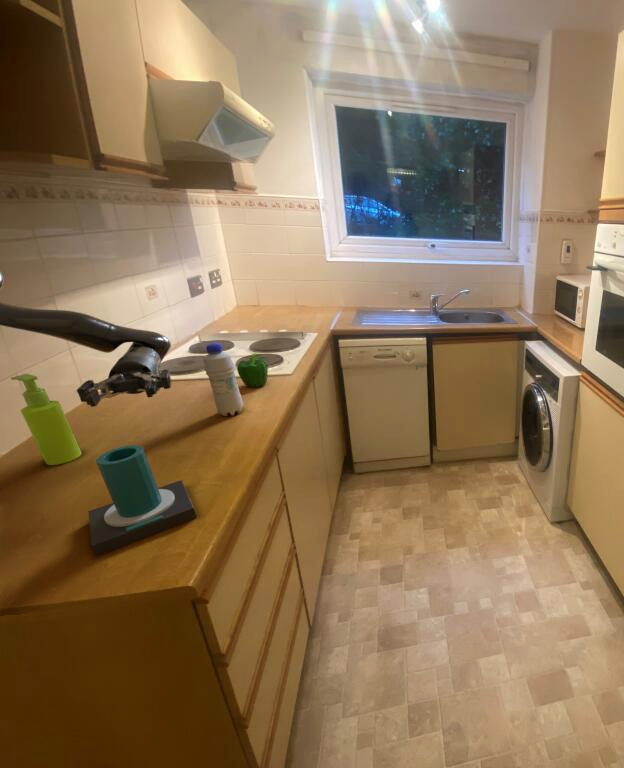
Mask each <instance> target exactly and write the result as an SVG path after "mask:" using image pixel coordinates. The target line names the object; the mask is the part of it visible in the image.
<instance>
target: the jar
mask: <svg viewBox="0 0 624 768" xmlns="http://www.w3.org/2000/svg"><path fill="white" fill-rule="evenodd" d="M96 465H97V467H98V470H99V472H100V475H101V477H102V479H103V482H104V484H105V486H106V488H107V491H108V493H109V495H110V496H109V497H110V498H111V500H112V503H114V505H115V507H116V510H117V512H118V514H119V515H120V516H121V517H126V518H129V517H136V516H139V515H143V514H145V513H148V512H150V511H152V510H153V509H155V508H156V507H158V506H159V505H160V503H161V502H162V498H161V495H160V492H159V490H158V488H159V487H158V484H157V482H156V479H155V477H154V474H153V471H152V469H151V465H150V463H149V460H148V457H147V455H146V452H145V450H144V447H143V446H141V445H138V444H137V445H133V444H132V445H124V446H120V447H116V448H113V449H110V450H108V451H106V452H104V453H102V454H100V455H99V456H98V457H97V458H96Z"/></svg>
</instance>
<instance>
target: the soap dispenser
mask: <svg viewBox="0 0 624 768" xmlns="http://www.w3.org/2000/svg"><path fill="white" fill-rule="evenodd" d="M10 379H11V381H20V382H22V383H23V385H24V387H25V391H24V392H22V397H23V399H24V401H25V403H26V406H24V407H23V408H21V409H20V412H21V414H22V416H23V419H24V421H25V422H26V425H27V427H28V429H29V432H30V434H31V436H32V437H33V440H34V442H35V444H36V445H37V448H38V450H39V452H40V454H41V456H42V458H43V460H44V462H45V465H47V466H58V465H62V464H65V463H66V464H67V463H69V462H72V461H74V460H77V459H78V458H80V457H81V456H82V450H81V449H80V446H79V444H78V441H77V439H76V437H75V435H74V432H73V430H72V428H71V426H70V423H69V421H68V418H67V417H66V415H65V412H64V410H63V407H62V405H61V403H60V401H59V400H50V398H49V395H48V392H47V391H46V389H45V388H44V387H43V388H42V387H38V384H37V382H36V380H39V377H38V376H36V375H33V374H28V373H24V374H19V375H16V376H12V377H10Z"/></svg>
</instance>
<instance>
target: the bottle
mask: <svg viewBox="0 0 624 768" xmlns="http://www.w3.org/2000/svg"><path fill="white" fill-rule="evenodd" d="M206 352H207V354H206V355H204V356H203V369H204V371H205V375H206V376H207V377H208V380H209V383H210V387H211V390H212V394H213V399H214V404H215V407H216V410H217V412H218V414H219V415H222V416H224V417H228V415H230V416H235V413H237V414H240V413H241V412H242V411H243V409H244V401H243V398H242V395H241V392H240V389H239V384H238V381H237V378H236V373H235V371H236V368H235V363H234V362H233V359H232V356H231V354H230V353H229V352H226V351H224V350H223V346H222V345H221V343H218V342H215V343H209V344H207V345H206Z"/></svg>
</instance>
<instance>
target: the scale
mask: <svg viewBox="0 0 624 768" xmlns="http://www.w3.org/2000/svg"><path fill="white" fill-rule="evenodd" d="M158 490H159V492H160V495H161V498H162V502H161V503H160V505H159V506H158V507H156V508H155V509H153V510H152V511H150V512H148V513H145V514H143V515H139V516H136V517H129V518H126V517H121V516H120V515H119V514H118V512H117V510H116V507H115V505H114V503H113V502H112V503H109V504H106V505H103V506H100V507H96V508H94V509H91V510H88V521H89V532H90V542H91V543H90V544H91V545H90V546H91V548H92V550H93V553H94V555H95V557H98V556H100V555H104V554H105V553H108V552H111V551H114V550H117V549H119V548H122V547H124V546H127V545H130V544H132V543H134V542H137V541H140V540H142V539H145V538H148V537H150V536H153V535H155V534H157V533H160V532H162V531H165V530H168V529H170V528H173V527H176V526H178V525H181V524H184V523H186V522H188V521H191V520H194V519H196V518H197V517H198V516H197V513H196V510H195V507H194V505H193V503H192V500H191V498H190V496H189V493H188V491H187V488H186V486H185V484H184V482H183V479H181V480H178V481H175V482H171V483H169V484H166V485H162V486H159V487H158Z"/></svg>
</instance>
